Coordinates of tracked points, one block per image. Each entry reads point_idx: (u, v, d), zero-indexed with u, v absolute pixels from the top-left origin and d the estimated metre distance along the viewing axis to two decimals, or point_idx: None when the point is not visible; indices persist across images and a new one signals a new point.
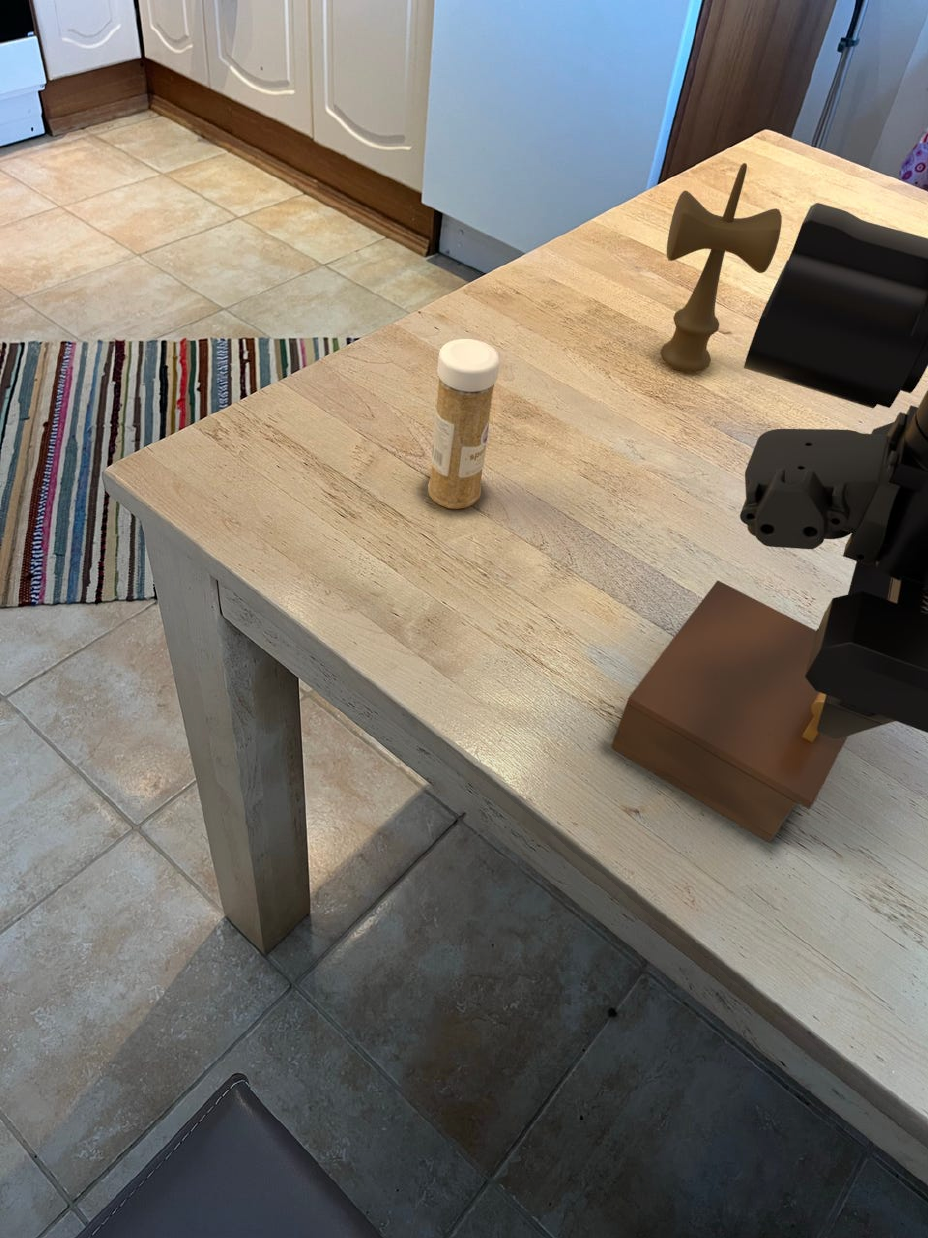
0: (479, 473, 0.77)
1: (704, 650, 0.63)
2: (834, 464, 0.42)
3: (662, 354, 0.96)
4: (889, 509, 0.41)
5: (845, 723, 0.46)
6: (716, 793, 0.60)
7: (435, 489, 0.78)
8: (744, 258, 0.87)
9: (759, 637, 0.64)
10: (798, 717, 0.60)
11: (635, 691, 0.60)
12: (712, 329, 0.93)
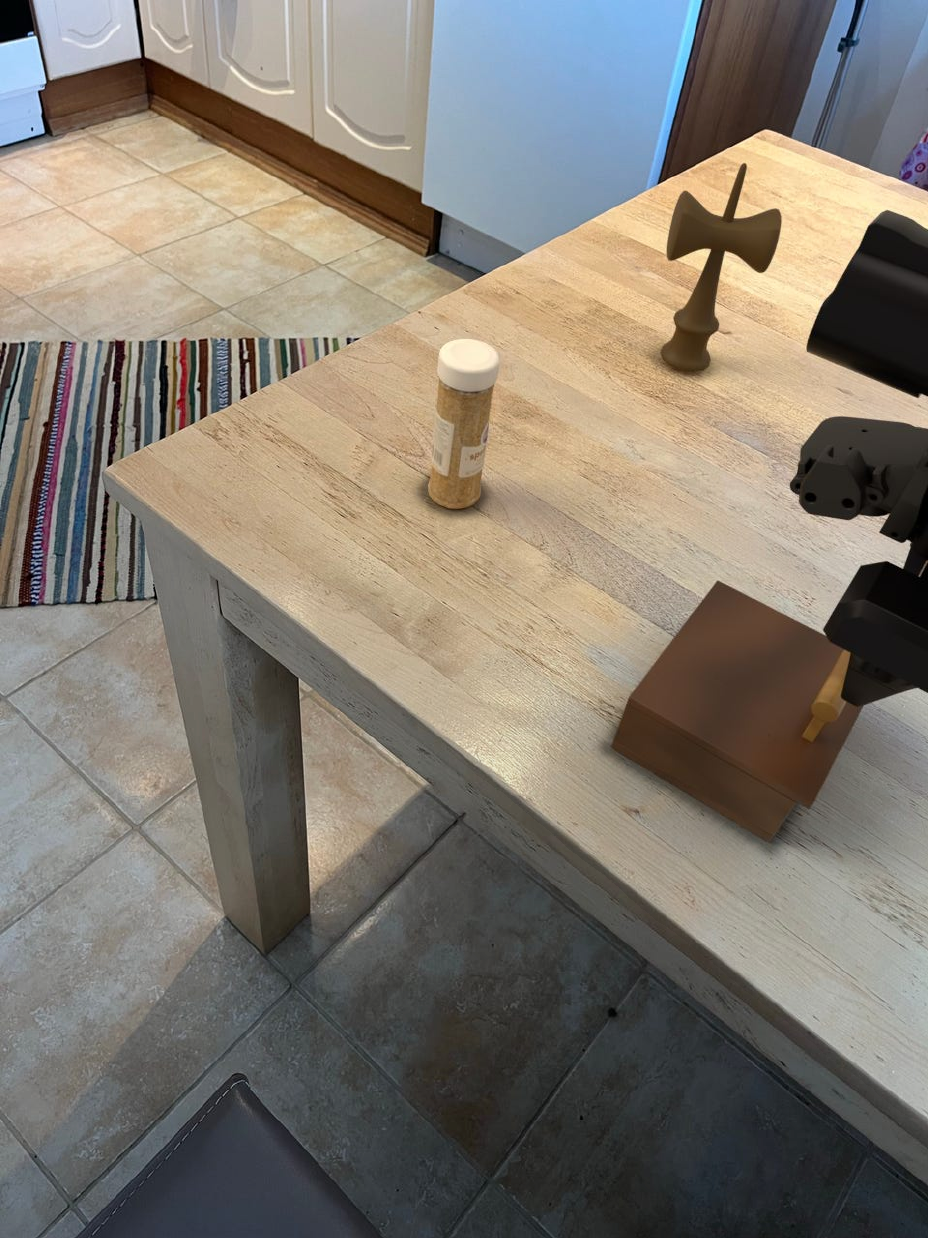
0: (479, 473, 0.77)
1: (704, 650, 0.63)
2: (882, 449, 0.47)
3: (662, 354, 0.96)
4: (923, 491, 0.45)
5: (865, 689, 0.50)
6: (716, 793, 0.60)
7: (435, 489, 0.78)
8: (744, 258, 0.87)
9: (759, 637, 0.64)
10: (798, 717, 0.60)
11: (635, 691, 0.60)
12: (712, 329, 0.93)
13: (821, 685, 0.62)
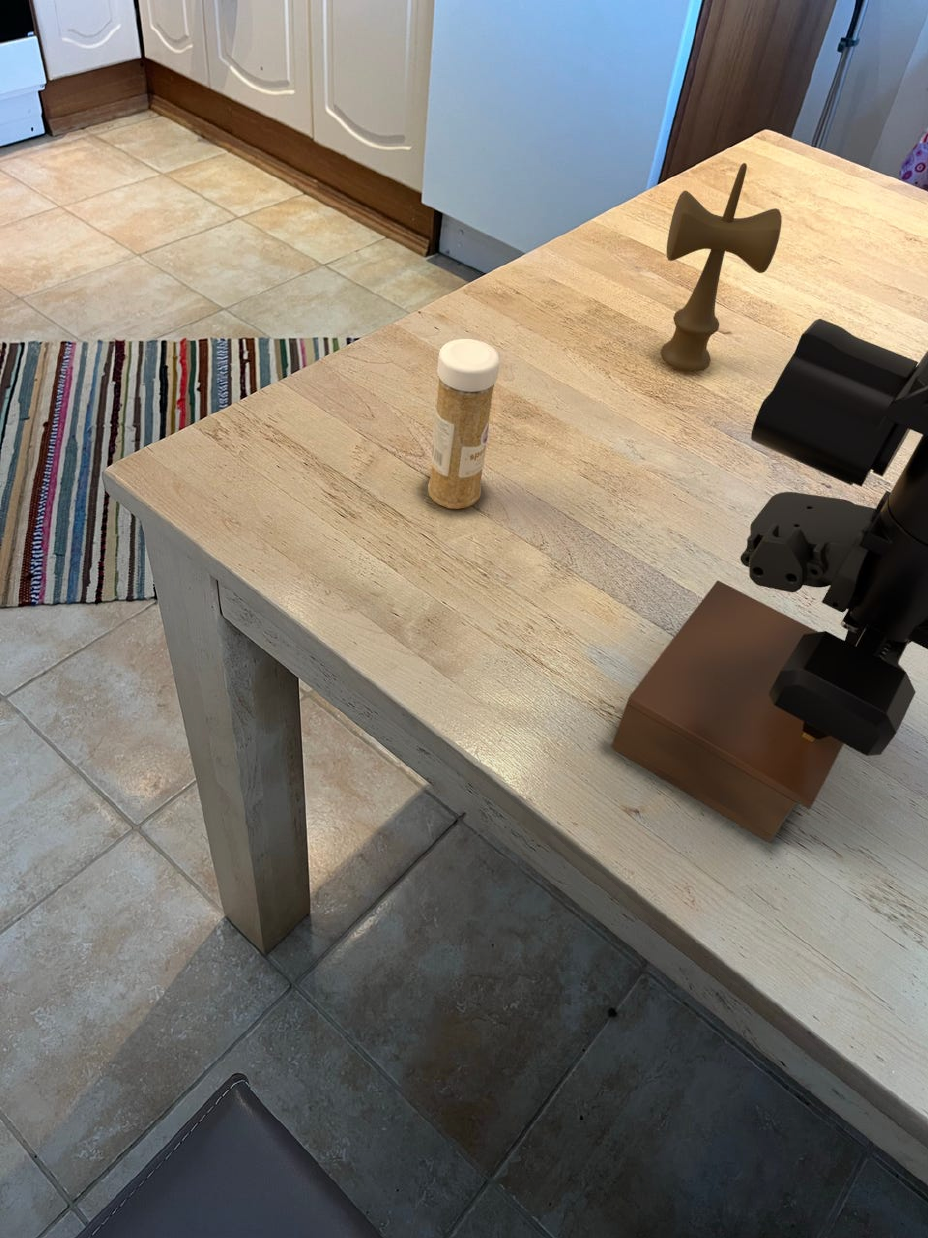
0: (479, 473, 0.77)
1: (704, 650, 0.63)
2: (823, 526, 0.52)
3: (662, 354, 0.96)
4: (858, 568, 0.49)
5: None
6: (716, 793, 0.60)
7: (435, 489, 0.78)
8: (744, 258, 0.87)
9: (759, 637, 0.64)
10: None
11: (635, 691, 0.60)
12: (712, 329, 0.93)
13: None
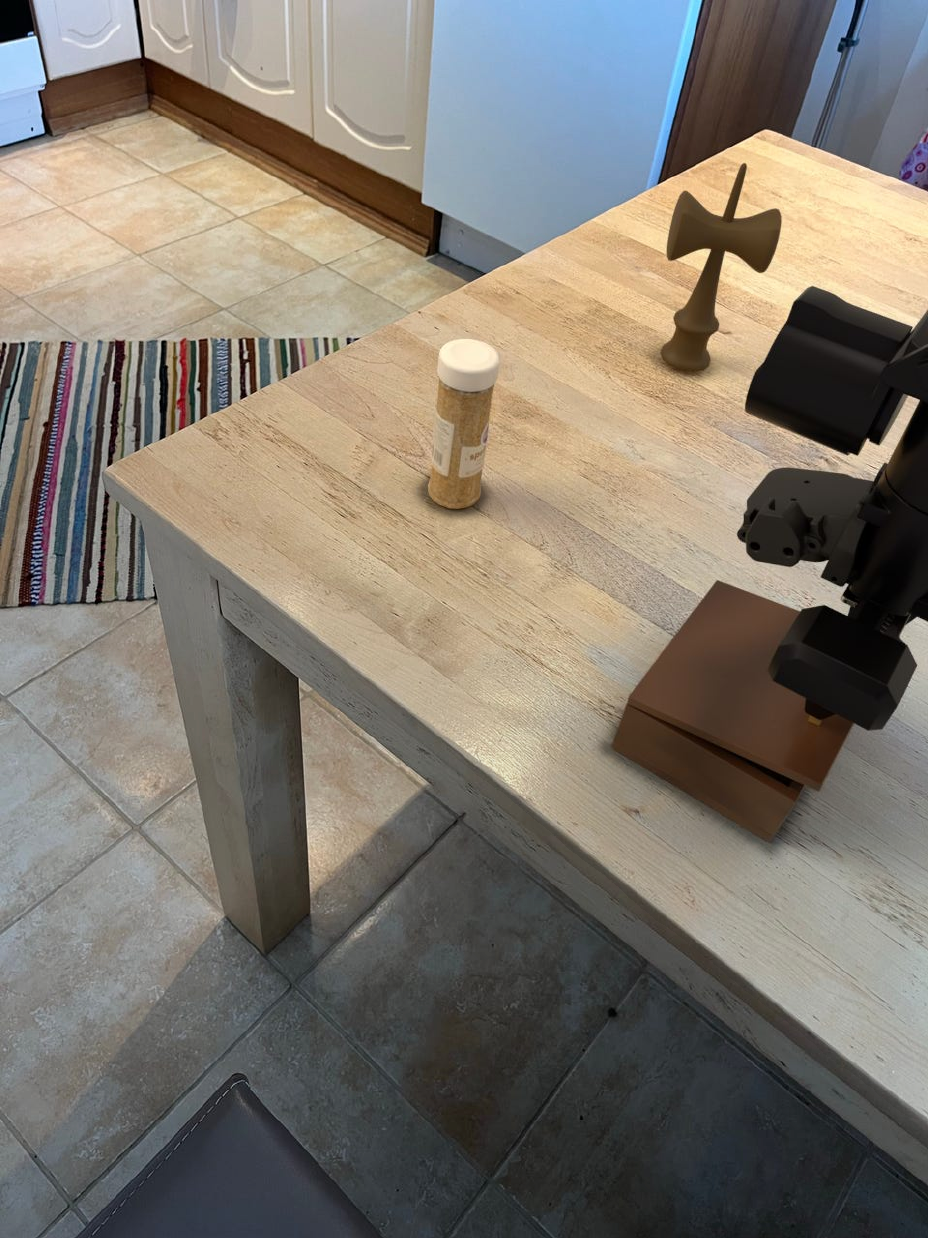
0: (479, 473, 0.77)
1: (704, 646, 0.63)
2: (821, 499, 0.51)
3: (662, 354, 0.96)
4: (857, 540, 0.49)
5: None
6: (716, 793, 0.60)
7: (435, 489, 0.78)
8: (744, 258, 0.87)
9: (761, 629, 0.64)
10: (804, 703, 0.59)
11: (634, 690, 0.60)
12: (712, 329, 0.93)
13: None
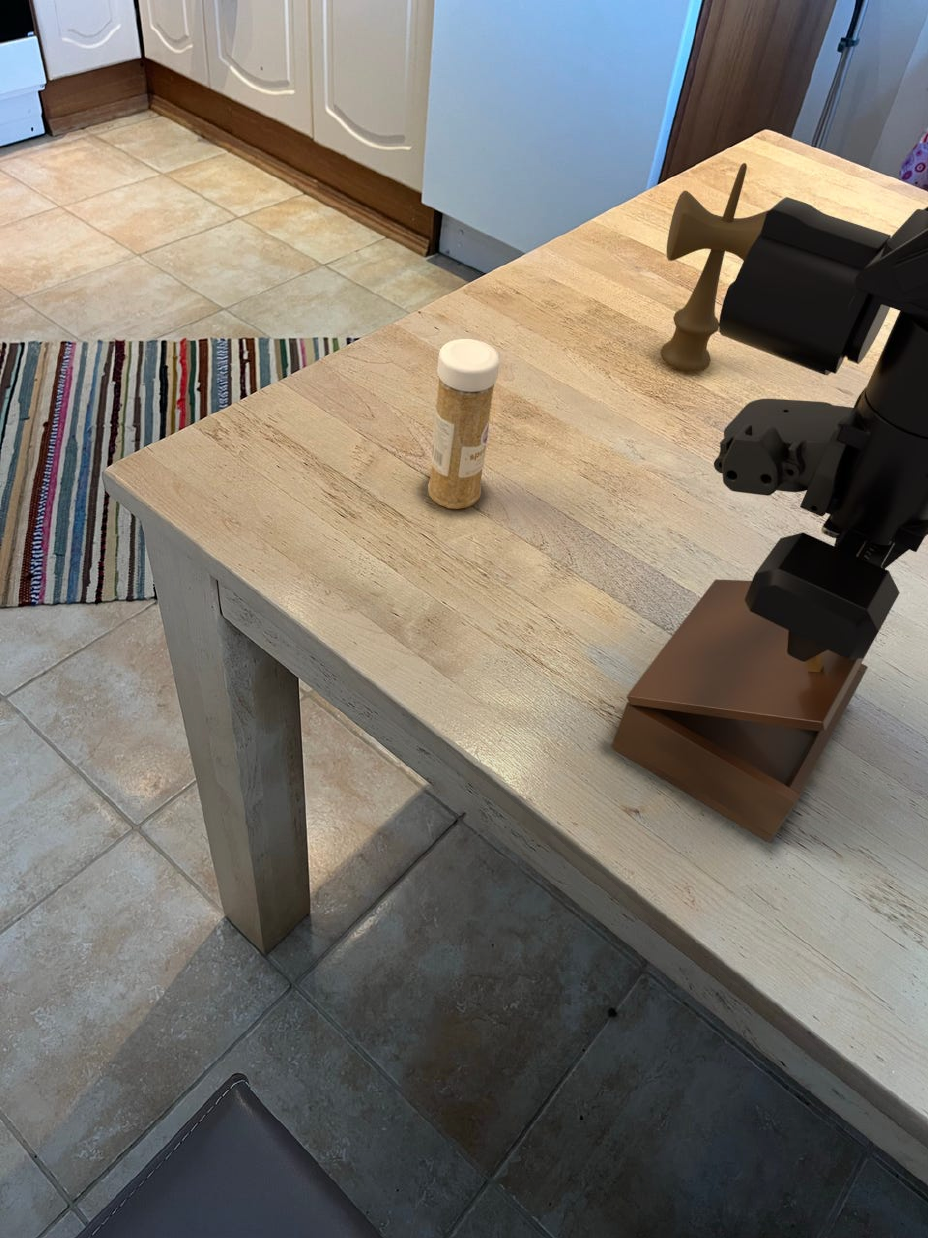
0: (479, 473, 0.77)
1: (702, 636, 0.62)
2: (800, 426, 0.49)
3: (662, 354, 0.96)
4: (836, 465, 0.47)
5: (807, 643, 0.53)
6: (716, 793, 0.60)
7: (435, 489, 0.78)
8: (744, 258, 0.87)
9: None
10: None
11: (632, 689, 0.60)
12: (712, 329, 0.93)
13: None
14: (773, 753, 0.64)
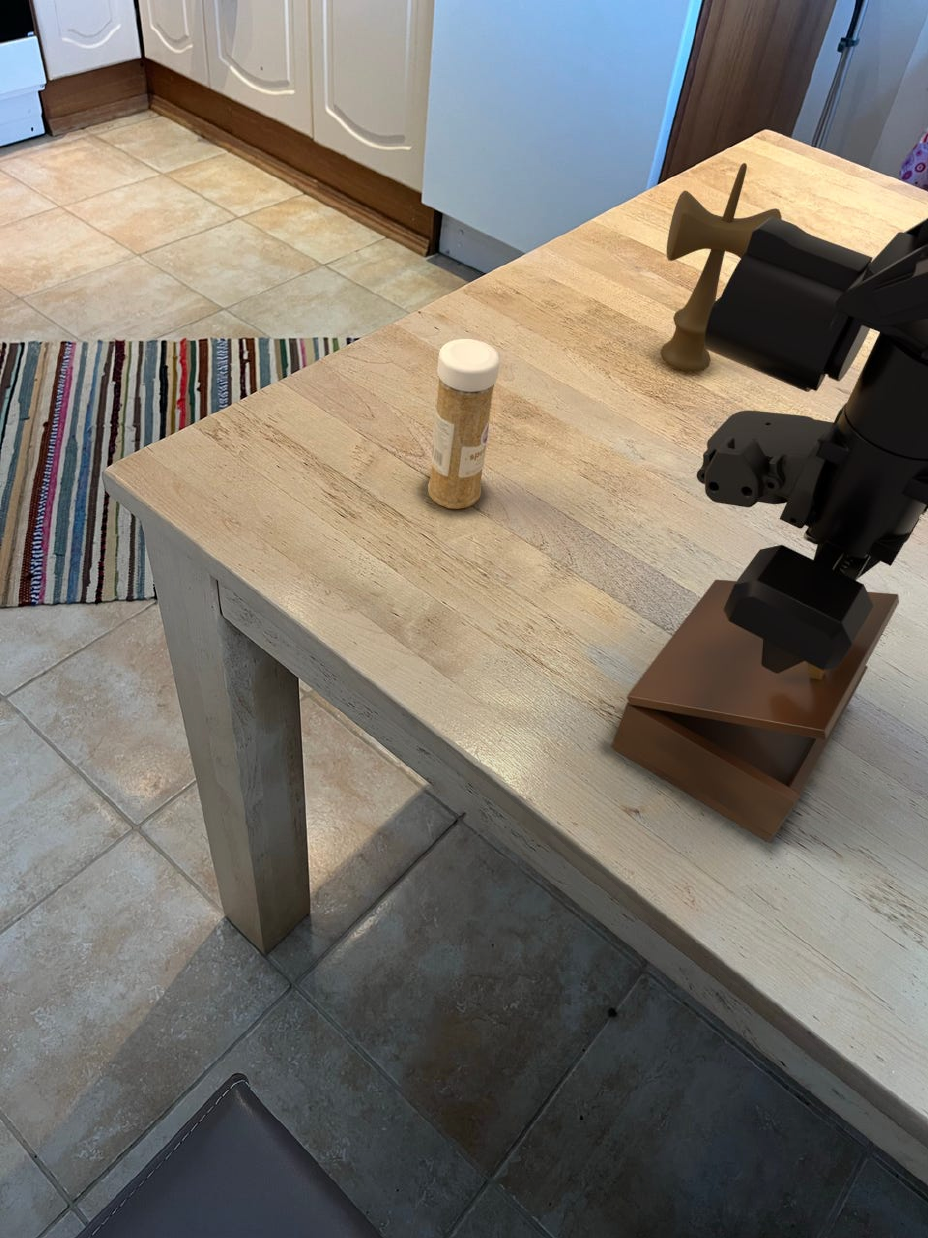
0: (479, 473, 0.77)
1: (702, 637, 0.62)
2: (781, 440, 0.50)
3: (662, 354, 0.96)
4: (815, 479, 0.48)
5: (781, 656, 0.54)
6: (716, 793, 0.60)
7: (435, 489, 0.78)
8: None
9: None
10: (804, 663, 0.57)
11: (633, 689, 0.60)
12: None
13: None
14: (773, 753, 0.64)
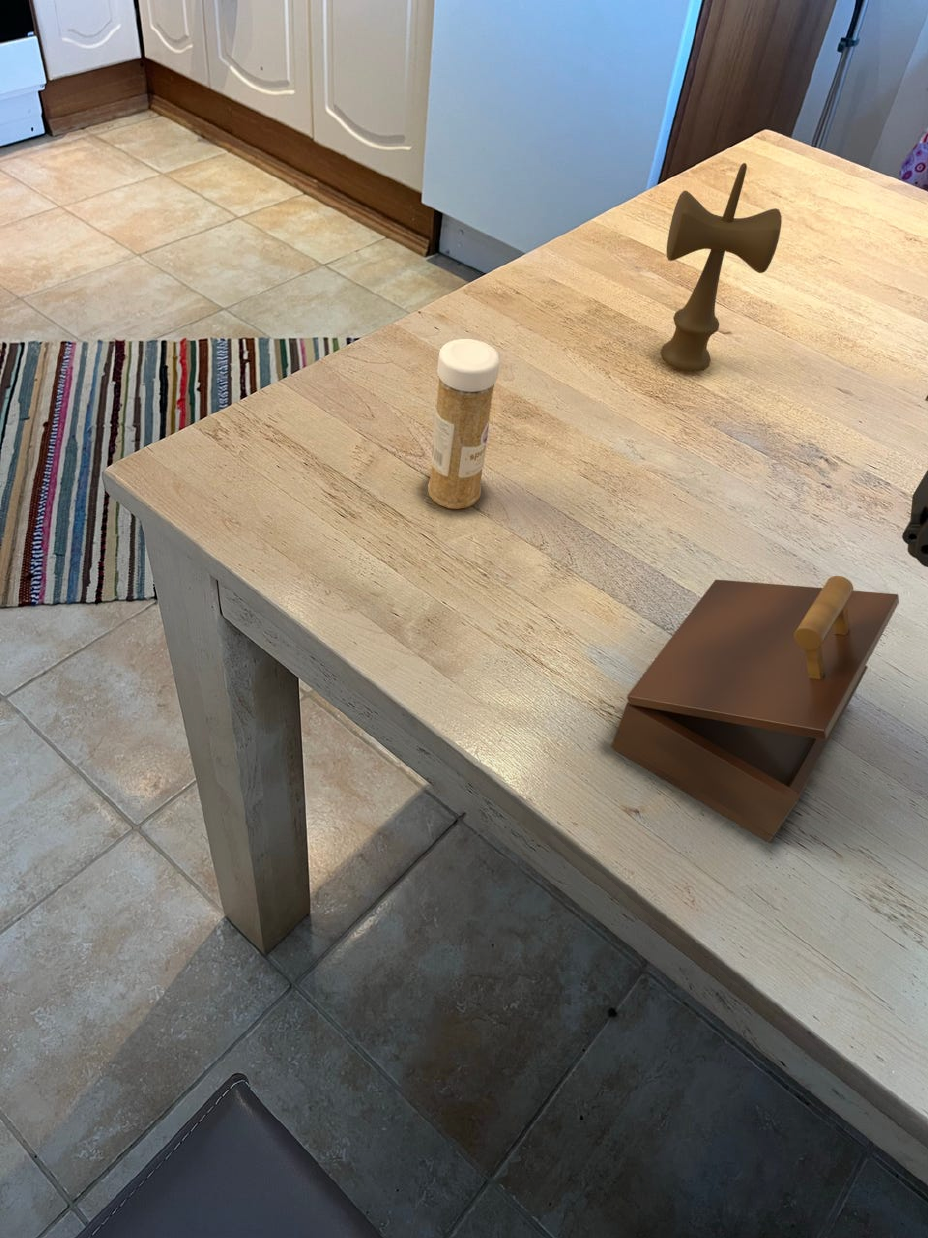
0: (479, 473, 0.77)
1: (702, 637, 0.62)
2: None
3: (662, 354, 0.96)
4: None
5: None
6: (716, 793, 0.60)
7: (435, 489, 0.78)
8: (744, 258, 0.87)
9: (759, 610, 0.63)
10: (804, 663, 0.57)
11: (633, 689, 0.60)
12: (712, 329, 0.93)
13: None
14: (773, 753, 0.64)
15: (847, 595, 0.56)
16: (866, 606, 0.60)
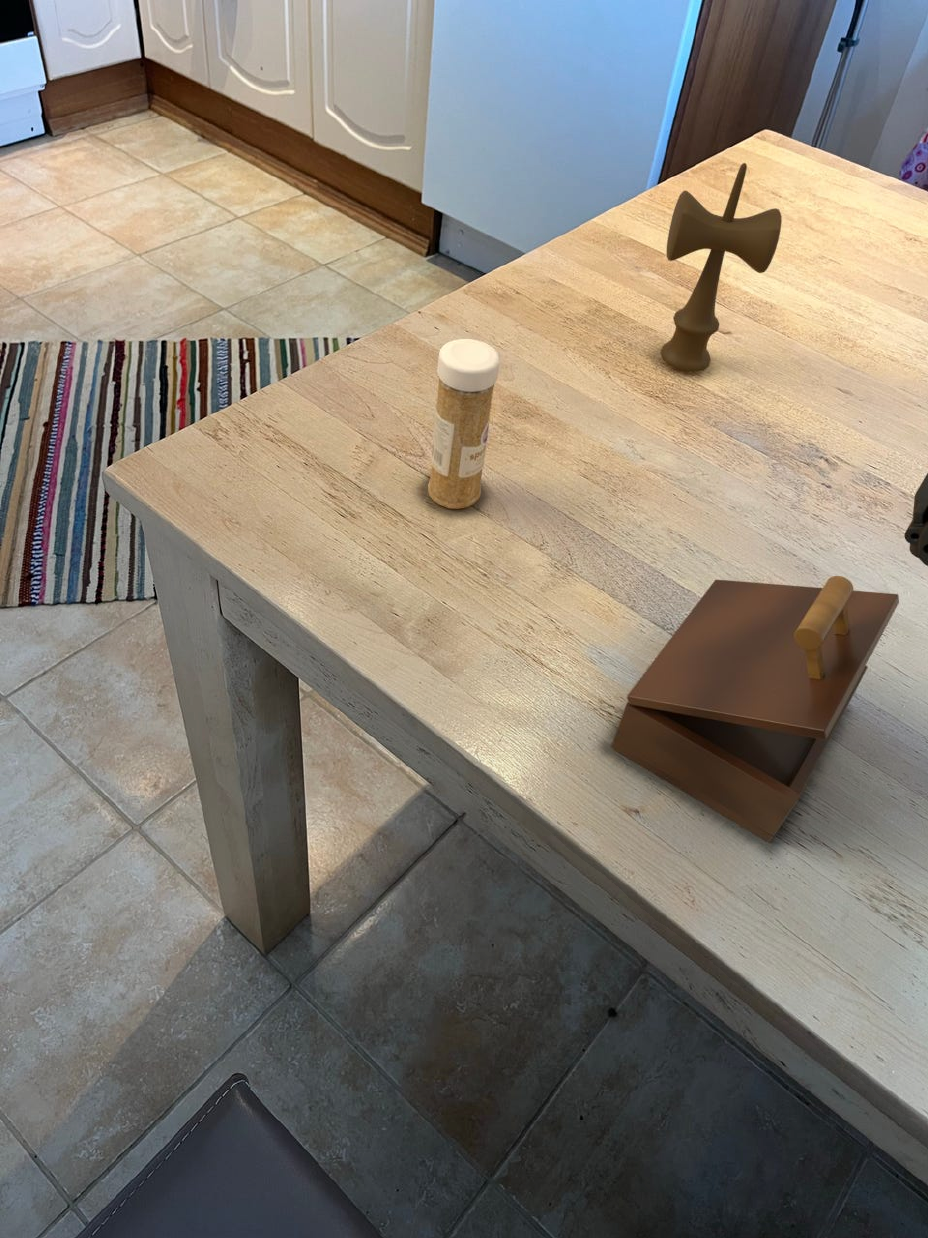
0: (479, 473, 0.77)
1: (702, 637, 0.62)
2: None
3: (662, 354, 0.96)
4: None
5: None
6: (716, 793, 0.60)
7: (435, 489, 0.78)
8: (744, 258, 0.87)
9: (759, 610, 0.63)
10: (804, 663, 0.57)
11: (633, 689, 0.60)
12: (712, 329, 0.93)
13: None
14: (773, 753, 0.64)
15: (847, 595, 0.56)
16: (866, 606, 0.60)
